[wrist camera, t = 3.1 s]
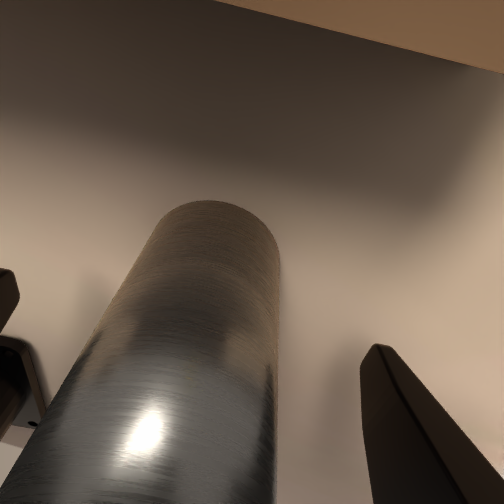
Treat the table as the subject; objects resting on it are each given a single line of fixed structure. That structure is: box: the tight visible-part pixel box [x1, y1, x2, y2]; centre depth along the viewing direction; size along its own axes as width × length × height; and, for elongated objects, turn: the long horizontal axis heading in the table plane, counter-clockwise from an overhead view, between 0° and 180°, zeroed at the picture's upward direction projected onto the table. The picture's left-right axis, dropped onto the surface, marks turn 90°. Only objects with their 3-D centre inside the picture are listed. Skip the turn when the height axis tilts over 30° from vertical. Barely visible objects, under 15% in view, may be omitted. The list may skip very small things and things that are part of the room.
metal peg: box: [0, 201, 279, 504], centre depth 7 cm, size 4×4×8 cm
